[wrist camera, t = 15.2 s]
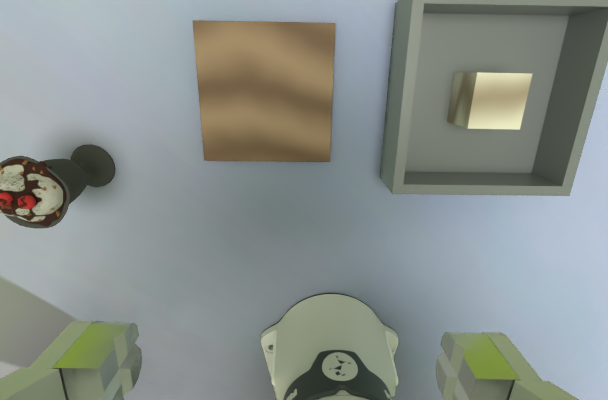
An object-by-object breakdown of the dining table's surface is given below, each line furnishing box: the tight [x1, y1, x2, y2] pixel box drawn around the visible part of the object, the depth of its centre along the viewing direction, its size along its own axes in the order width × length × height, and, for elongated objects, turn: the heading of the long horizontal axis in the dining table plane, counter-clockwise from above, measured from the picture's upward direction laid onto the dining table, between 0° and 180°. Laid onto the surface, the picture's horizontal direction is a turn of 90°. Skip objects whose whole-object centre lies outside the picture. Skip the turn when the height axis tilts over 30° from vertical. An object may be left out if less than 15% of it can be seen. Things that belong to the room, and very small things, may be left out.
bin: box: [380, 0, 608, 196], centre depth 35 cm, size 18×18×6 cm
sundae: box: [0, 145, 115, 228], centre depth 33 cm, size 7×7×15 cm
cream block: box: [447, 72, 532, 130], centre depth 35 cm, size 5×5×5 cm
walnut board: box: [193, 21, 335, 162], centre depth 37 cm, size 14×14×1 cm
